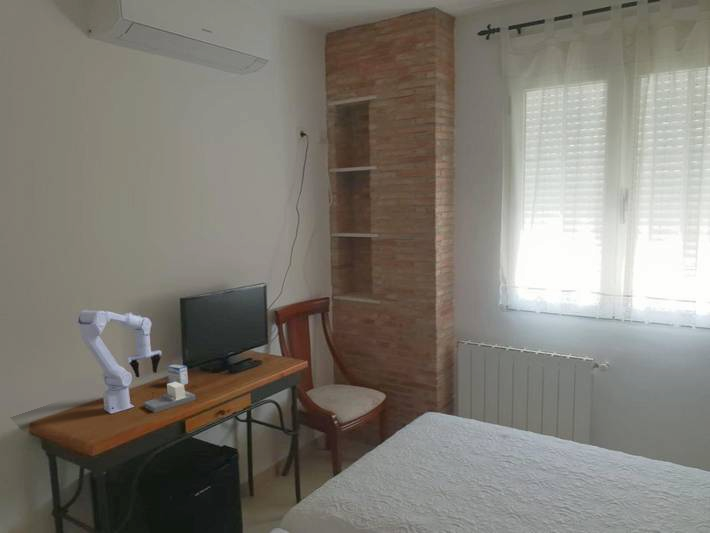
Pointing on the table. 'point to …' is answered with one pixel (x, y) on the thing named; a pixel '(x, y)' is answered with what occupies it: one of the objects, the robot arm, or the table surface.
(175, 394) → the cream white block
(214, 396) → the table surface
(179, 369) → the medicine box
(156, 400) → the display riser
